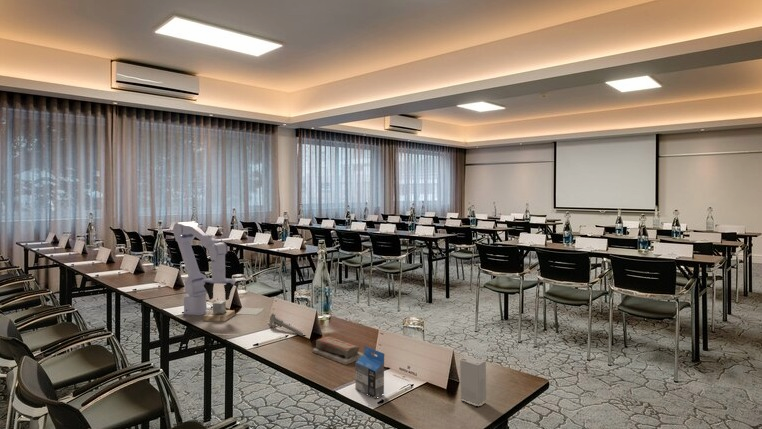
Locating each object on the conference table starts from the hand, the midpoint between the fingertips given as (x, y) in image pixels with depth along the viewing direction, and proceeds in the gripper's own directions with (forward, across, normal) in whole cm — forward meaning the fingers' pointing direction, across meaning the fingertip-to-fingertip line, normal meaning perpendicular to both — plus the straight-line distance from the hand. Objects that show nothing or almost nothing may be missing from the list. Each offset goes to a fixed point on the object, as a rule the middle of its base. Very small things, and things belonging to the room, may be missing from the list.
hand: (219, 299), depth 199 cm
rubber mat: (+9, +10, +11) cm, 17 cm away
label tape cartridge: (+9, +77, -62) cm, 100 cm away
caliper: (+10, +36, -13) cm, 39 cm away
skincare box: (+9, +107, -65) cm, 125 cm away
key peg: (+8, 0, 0) cm, 8 cm away
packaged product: (+10, +62, -35) cm, 72 cm away
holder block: (+9, 0, 0) cm, 9 cm away
